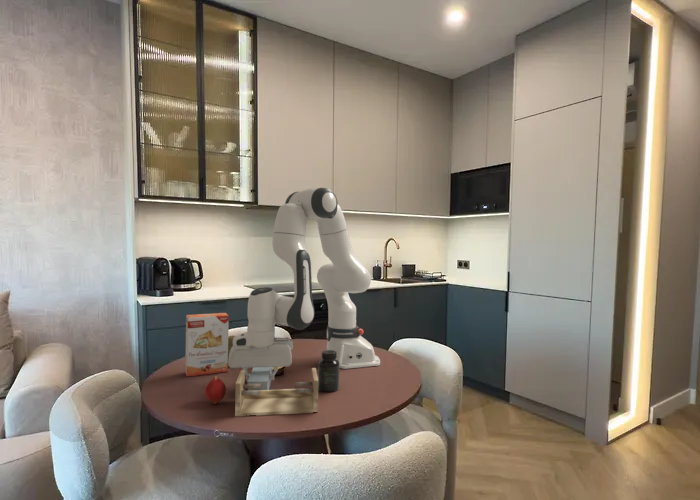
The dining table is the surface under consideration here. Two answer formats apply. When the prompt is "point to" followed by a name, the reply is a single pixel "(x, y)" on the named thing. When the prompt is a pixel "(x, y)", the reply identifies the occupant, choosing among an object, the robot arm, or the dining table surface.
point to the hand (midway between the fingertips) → (260, 380)
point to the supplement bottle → (328, 372)
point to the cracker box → (206, 344)
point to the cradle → (275, 398)
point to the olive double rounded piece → (230, 344)
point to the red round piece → (215, 390)
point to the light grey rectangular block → (260, 377)
